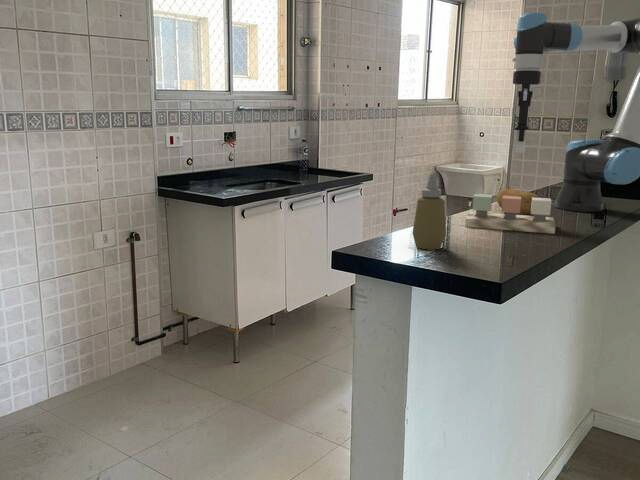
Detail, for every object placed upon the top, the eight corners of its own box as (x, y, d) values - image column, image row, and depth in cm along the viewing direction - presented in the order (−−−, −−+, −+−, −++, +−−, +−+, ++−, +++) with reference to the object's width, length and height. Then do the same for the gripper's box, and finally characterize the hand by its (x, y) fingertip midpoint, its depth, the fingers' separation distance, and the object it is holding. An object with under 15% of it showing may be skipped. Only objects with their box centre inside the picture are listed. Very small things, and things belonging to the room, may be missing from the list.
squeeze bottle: (423, 253, 141) (427, 176, 137) (405, 245, 149) (408, 172, 144) (451, 250, 144) (456, 175, 140) (432, 242, 152) (437, 171, 148)
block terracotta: (519, 217, 175) (521, 196, 174) (519, 220, 170) (521, 199, 169) (501, 216, 176) (503, 195, 175) (500, 219, 172) (502, 198, 170)
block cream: (548, 219, 173) (550, 198, 171) (549, 223, 168) (551, 201, 167) (530, 218, 174) (532, 197, 173) (530, 221, 169) (532, 200, 168)
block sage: (490, 215, 177) (492, 194, 176) (489, 218, 173) (491, 197, 171) (473, 214, 179) (474, 193, 177) (471, 217, 174) (473, 196, 173)
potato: (530, 220, 184) (533, 194, 182) (489, 213, 193) (491, 188, 191) (545, 216, 190) (547, 191, 188) (504, 210, 200) (506, 186, 198)
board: (552, 225, 176) (553, 217, 175) (554, 233, 165) (555, 225, 164) (468, 219, 183) (469, 211, 182) (465, 226, 172) (465, 218, 171)
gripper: (514, 71, 181) (507, 149, 187) (513, 68, 166) (505, 153, 172) (540, 71, 179) (532, 150, 185) (542, 68, 164) (533, 155, 169)
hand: (519, 152), depth 178 cm, fingers open, 3 cm apart
